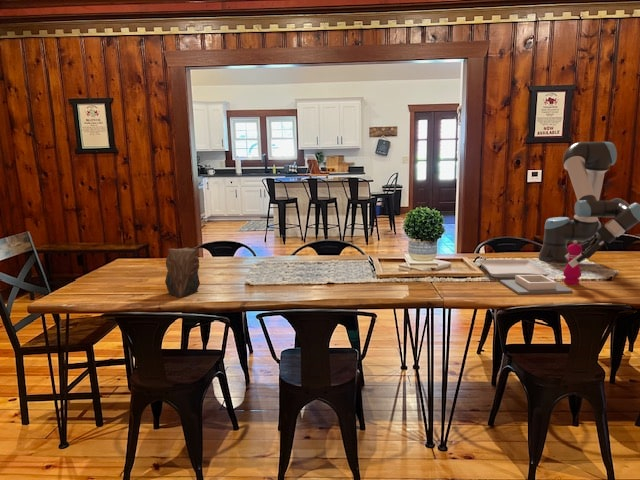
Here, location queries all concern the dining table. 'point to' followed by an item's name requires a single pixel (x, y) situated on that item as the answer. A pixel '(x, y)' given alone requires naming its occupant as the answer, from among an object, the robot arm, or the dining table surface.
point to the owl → (182, 272)
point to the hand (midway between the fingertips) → (568, 261)
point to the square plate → (512, 268)
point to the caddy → (534, 285)
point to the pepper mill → (574, 272)
